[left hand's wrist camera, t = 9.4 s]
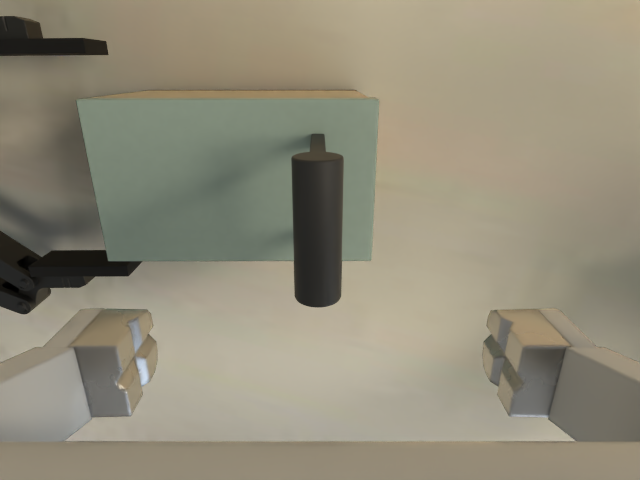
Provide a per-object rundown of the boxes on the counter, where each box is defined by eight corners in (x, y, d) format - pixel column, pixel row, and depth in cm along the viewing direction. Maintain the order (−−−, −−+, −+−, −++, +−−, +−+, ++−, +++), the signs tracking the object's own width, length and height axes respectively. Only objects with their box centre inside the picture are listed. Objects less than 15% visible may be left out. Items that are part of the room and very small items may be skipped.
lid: (376, 97, 23) (410, 114, 15) (369, 252, 27) (393, 341, 18) (87, 97, 23) (-51, 114, 15) (117, 253, 27) (19, 341, 18)
